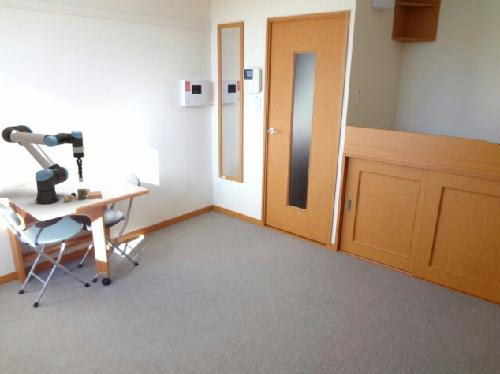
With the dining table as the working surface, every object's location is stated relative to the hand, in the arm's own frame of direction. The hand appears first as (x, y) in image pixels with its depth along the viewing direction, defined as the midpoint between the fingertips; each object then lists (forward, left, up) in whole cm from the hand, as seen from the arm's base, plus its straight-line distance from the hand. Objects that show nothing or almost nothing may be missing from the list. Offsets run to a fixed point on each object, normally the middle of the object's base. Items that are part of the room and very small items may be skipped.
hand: (80, 179), depth 295 cm
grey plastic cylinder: (+4, +11, -15) cm, 19 cm away
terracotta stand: (+9, +2, -15) cm, 18 cm away
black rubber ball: (-6, +6, -13) cm, 16 cm away
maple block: (-9, -4, -15) cm, 18 cm away
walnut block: (0, 0, -15) cm, 15 cm away
